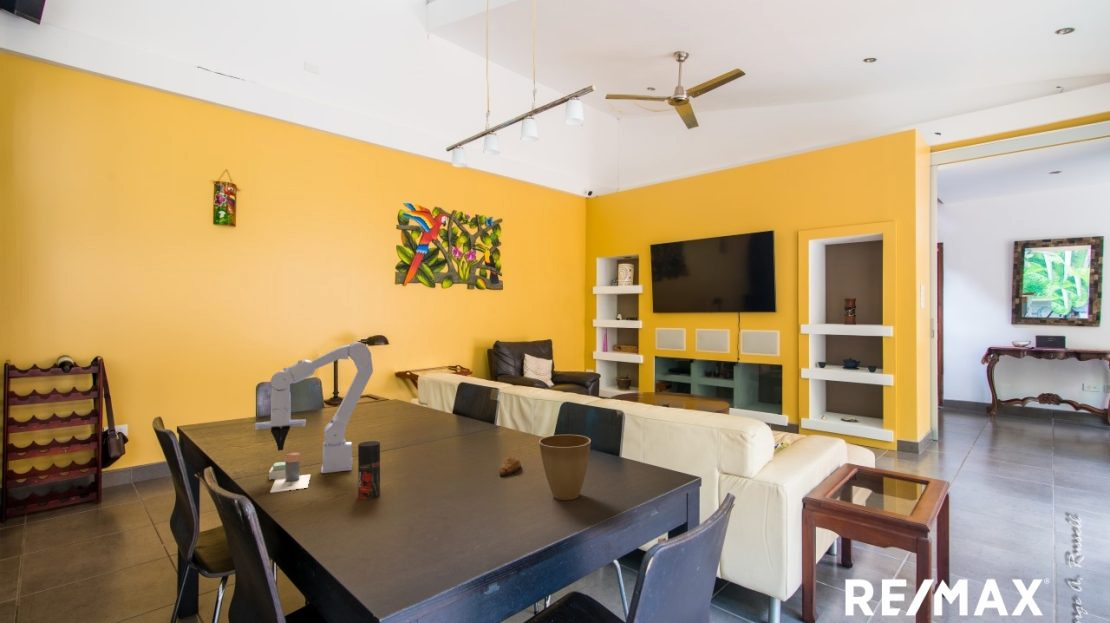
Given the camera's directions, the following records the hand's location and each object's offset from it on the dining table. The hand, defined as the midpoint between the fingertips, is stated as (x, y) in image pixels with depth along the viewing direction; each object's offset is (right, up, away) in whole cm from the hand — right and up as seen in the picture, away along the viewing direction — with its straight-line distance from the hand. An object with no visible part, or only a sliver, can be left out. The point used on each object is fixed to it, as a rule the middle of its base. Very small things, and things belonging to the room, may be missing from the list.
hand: (280, 449), depth 164 cm
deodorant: (+36, -8, -19) cm, 41 cm away
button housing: (0, -9, 0) cm, 9 cm away
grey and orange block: (+6, -8, -5) cm, 12 cm away
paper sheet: (+8, -8, -8) cm, 14 cm away
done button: (0, -7, 0) cm, 7 cm away
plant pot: (+93, -8, -20) cm, 95 cm away
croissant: (+75, -9, +4) cm, 76 cm away
